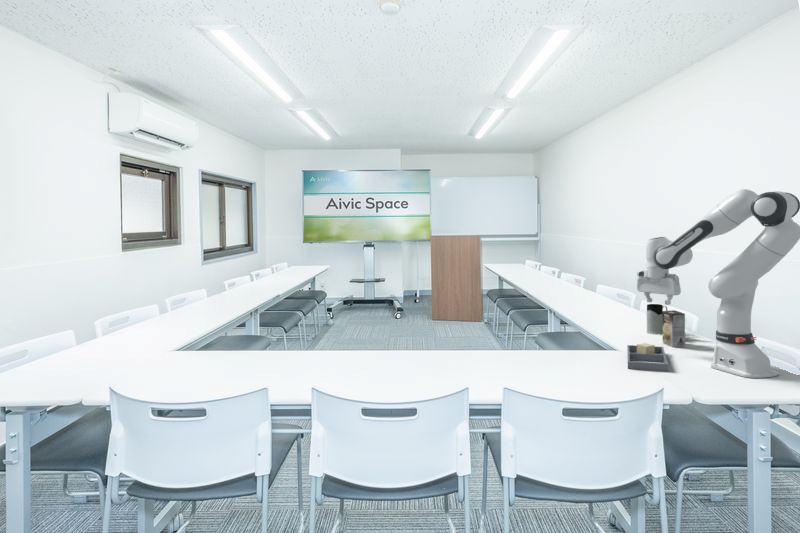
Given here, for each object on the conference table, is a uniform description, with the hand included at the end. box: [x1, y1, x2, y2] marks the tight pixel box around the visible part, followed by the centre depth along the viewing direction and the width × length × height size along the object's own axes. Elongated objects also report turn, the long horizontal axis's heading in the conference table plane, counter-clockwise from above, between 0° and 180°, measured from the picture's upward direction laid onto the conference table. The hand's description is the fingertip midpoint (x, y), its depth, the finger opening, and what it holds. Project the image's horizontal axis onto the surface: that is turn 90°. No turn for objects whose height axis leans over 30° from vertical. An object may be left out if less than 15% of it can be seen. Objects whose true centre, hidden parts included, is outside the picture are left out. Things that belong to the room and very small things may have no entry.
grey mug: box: [645, 303, 668, 335], centre depth 253 cm, size 9×14×15 cm, turn 115°
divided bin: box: [626, 344, 669, 372], centre depth 203 cm, size 28×15×3 cm, turn 154°
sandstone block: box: [636, 342, 656, 354], centre depth 209 cm, size 5×5×5 cm
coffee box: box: [662, 310, 686, 348], centre depth 225 cm, size 9×6×16 cm
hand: (658, 303), depth 212 cm, fingers open, 8 cm apart
